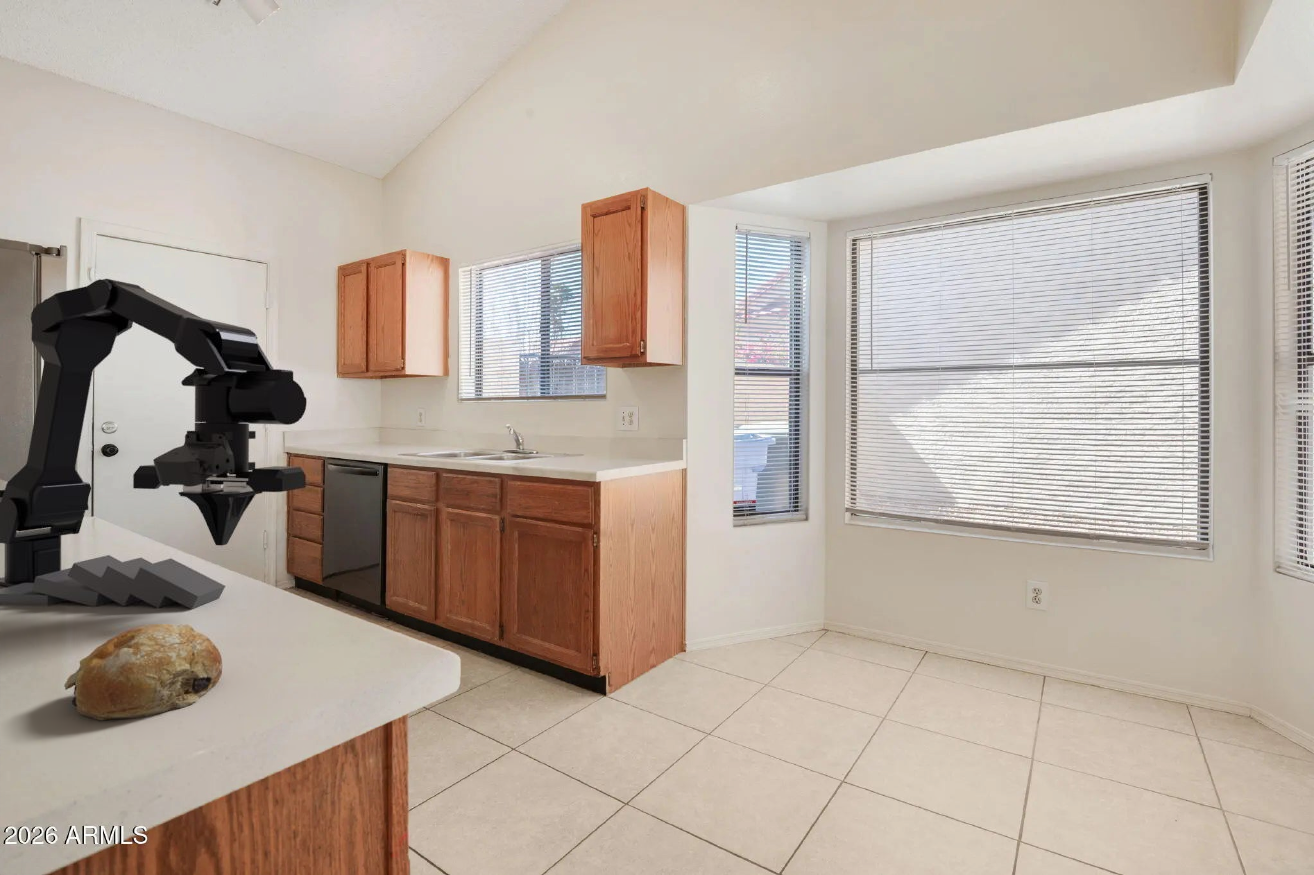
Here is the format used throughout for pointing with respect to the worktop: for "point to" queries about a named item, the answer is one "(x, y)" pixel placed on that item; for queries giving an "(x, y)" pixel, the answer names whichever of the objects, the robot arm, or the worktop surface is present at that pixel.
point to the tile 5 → (180, 583)
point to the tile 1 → (26, 596)
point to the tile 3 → (91, 577)
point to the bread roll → (145, 672)
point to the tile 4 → (134, 582)
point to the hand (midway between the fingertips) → (221, 545)
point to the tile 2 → (68, 589)
